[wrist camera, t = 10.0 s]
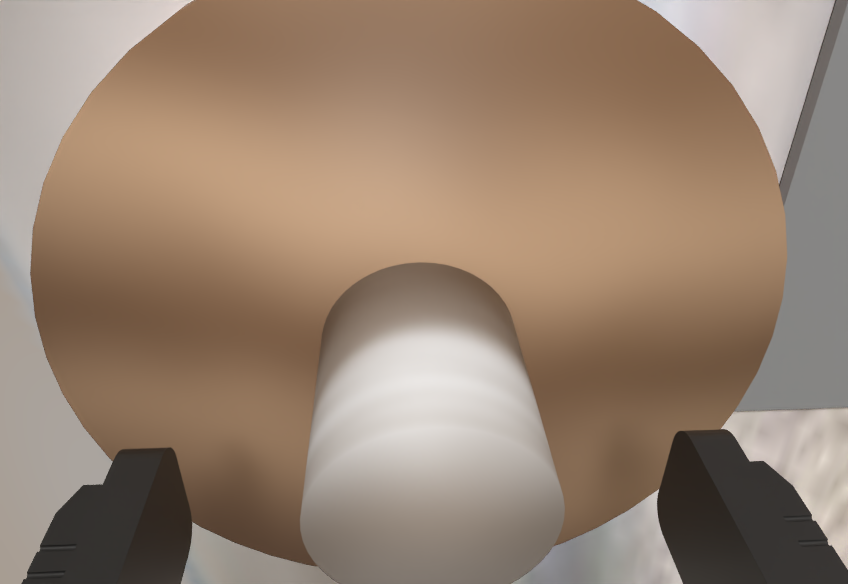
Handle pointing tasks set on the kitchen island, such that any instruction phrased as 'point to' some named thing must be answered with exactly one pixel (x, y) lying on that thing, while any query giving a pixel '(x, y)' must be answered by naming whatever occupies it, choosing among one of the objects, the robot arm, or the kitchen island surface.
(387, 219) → the lid
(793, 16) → the kitchen island surface
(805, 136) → the mat
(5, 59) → the kitchen island surface
